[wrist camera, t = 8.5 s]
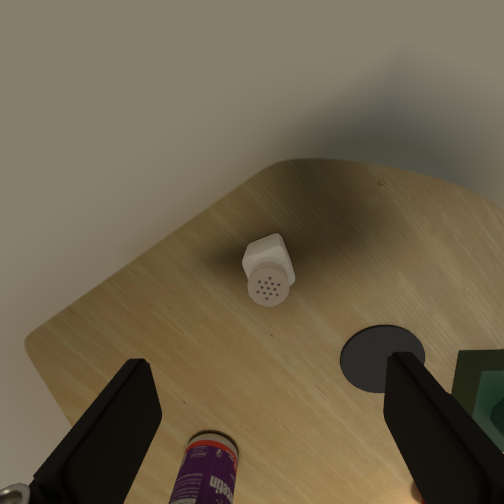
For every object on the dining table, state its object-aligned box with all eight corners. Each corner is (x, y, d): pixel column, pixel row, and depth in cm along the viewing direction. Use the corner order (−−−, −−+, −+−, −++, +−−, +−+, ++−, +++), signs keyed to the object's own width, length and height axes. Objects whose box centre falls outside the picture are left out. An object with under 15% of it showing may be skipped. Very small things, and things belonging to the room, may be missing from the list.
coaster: (340, 326, 28) (341, 328, 28) (427, 323, 27) (429, 325, 27) (339, 391, 31) (340, 393, 31) (418, 390, 30) (420, 392, 30)
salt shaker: (259, 273, 27) (254, 318, 18) (246, 243, 26) (233, 274, 17) (291, 262, 27) (302, 302, 17) (279, 230, 26) (284, 255, 17)
